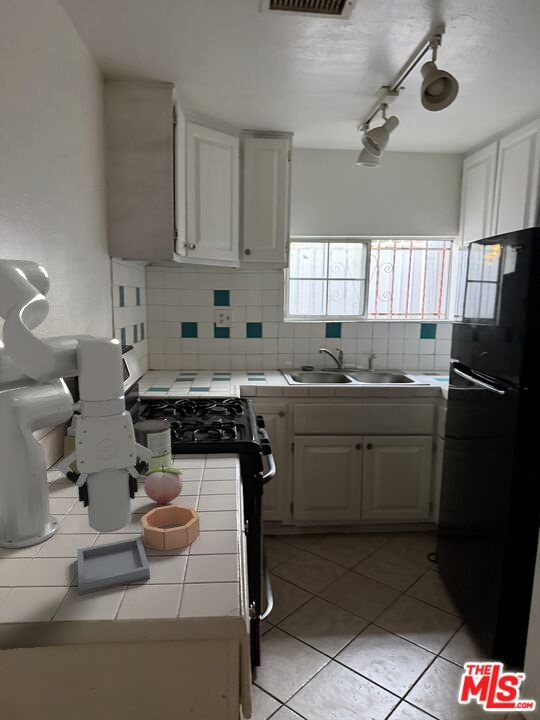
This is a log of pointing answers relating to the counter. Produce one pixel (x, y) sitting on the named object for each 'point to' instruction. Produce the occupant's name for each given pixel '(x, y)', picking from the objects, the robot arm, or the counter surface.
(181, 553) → the counter surface
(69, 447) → the squeeze bottle
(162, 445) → the coffee can
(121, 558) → the slate tray
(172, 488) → the decorative fruit
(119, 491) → the can
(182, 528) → the terracotta ring
